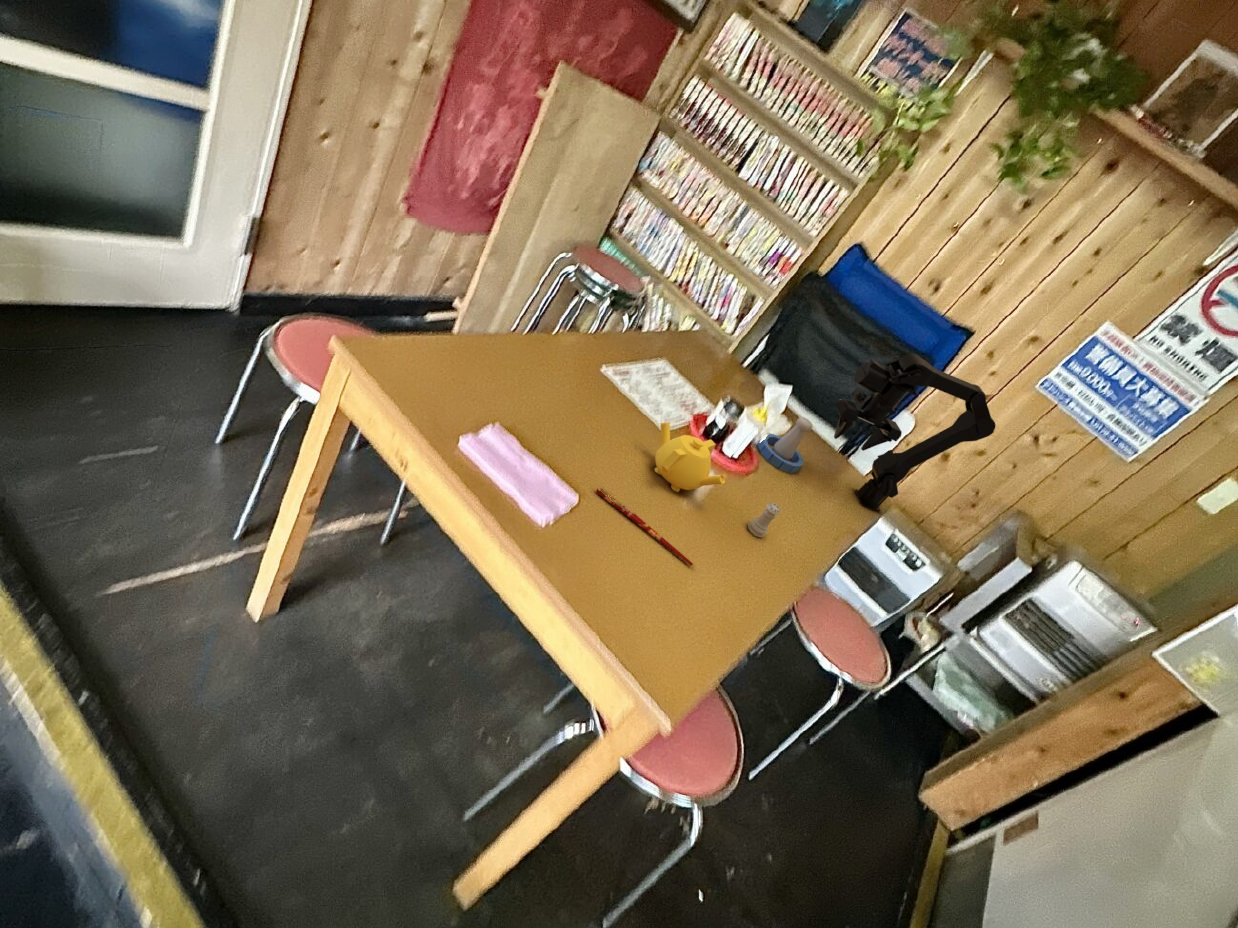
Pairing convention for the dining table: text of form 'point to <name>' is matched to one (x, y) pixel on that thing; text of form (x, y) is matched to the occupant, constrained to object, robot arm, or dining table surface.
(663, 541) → the chopstick
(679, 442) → the teapot
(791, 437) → the salt shaker
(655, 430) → the dining table surface
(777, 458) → the tape roll
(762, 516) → the rook chess piece
